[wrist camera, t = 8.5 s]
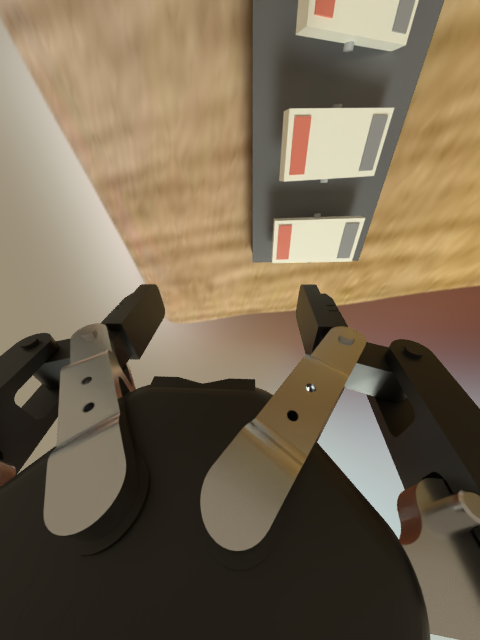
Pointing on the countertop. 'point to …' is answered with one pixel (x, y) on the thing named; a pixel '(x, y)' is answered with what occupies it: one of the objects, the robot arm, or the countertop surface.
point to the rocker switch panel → (323, 92)
